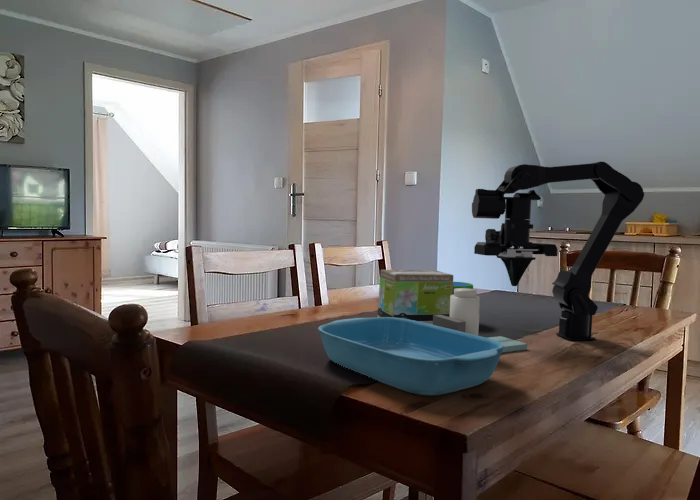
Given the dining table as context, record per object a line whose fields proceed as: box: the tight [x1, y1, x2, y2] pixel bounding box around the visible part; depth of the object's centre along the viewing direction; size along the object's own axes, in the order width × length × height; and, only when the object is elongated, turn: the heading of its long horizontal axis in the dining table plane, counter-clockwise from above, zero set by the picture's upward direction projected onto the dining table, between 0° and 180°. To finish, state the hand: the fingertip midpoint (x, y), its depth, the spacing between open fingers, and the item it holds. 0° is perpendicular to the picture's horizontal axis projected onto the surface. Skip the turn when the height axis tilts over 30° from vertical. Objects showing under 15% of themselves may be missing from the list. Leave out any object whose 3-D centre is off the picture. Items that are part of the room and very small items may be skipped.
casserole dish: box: [317, 316, 504, 396], centre depth 101 cm, size 37×22×7 cm, turn 37°
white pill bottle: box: [450, 288, 481, 336], centre depth 116 cm, size 6×6×11 cm
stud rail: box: [433, 315, 528, 354], centre depth 119 cm, size 19×8×7 cm, turn 119°
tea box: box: [377, 269, 454, 325], centre depth 133 cm, size 15×10×15 cm
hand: (514, 286), depth 132 cm, fingers closed
